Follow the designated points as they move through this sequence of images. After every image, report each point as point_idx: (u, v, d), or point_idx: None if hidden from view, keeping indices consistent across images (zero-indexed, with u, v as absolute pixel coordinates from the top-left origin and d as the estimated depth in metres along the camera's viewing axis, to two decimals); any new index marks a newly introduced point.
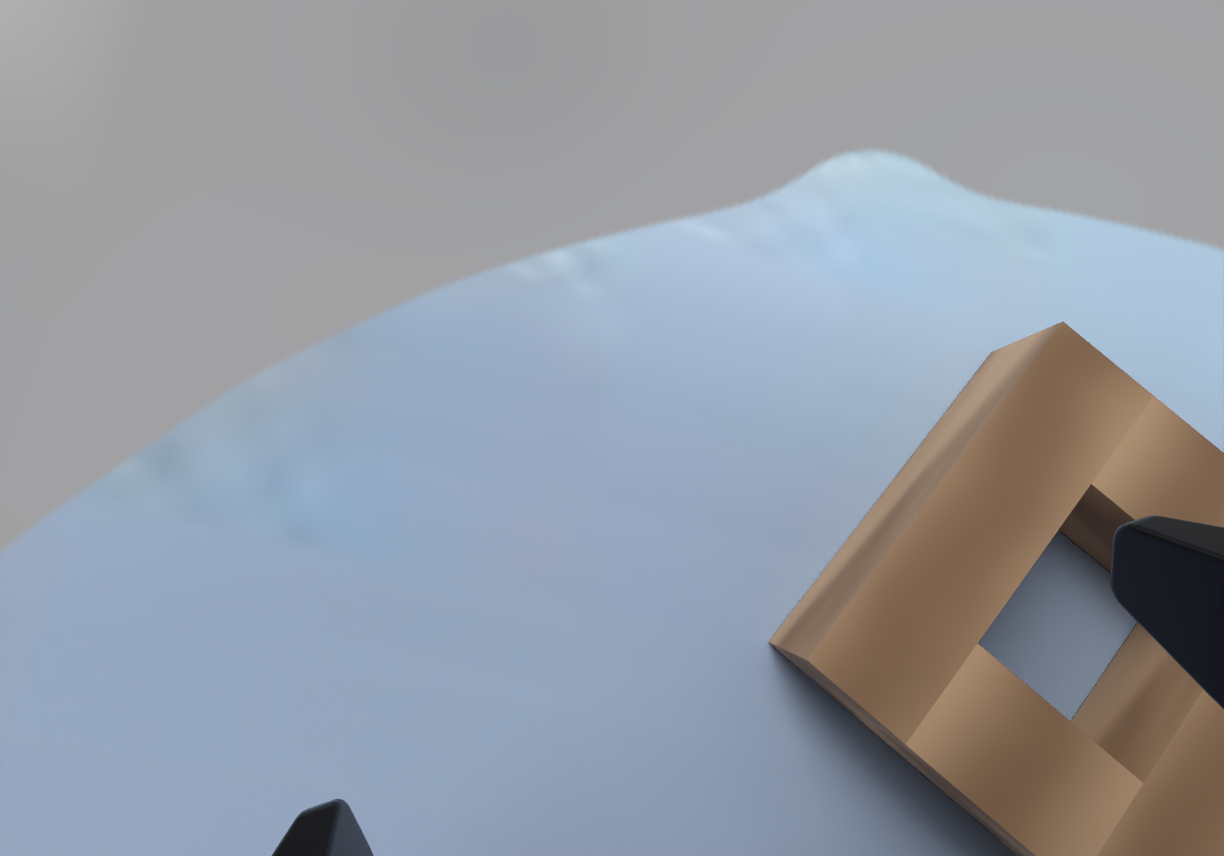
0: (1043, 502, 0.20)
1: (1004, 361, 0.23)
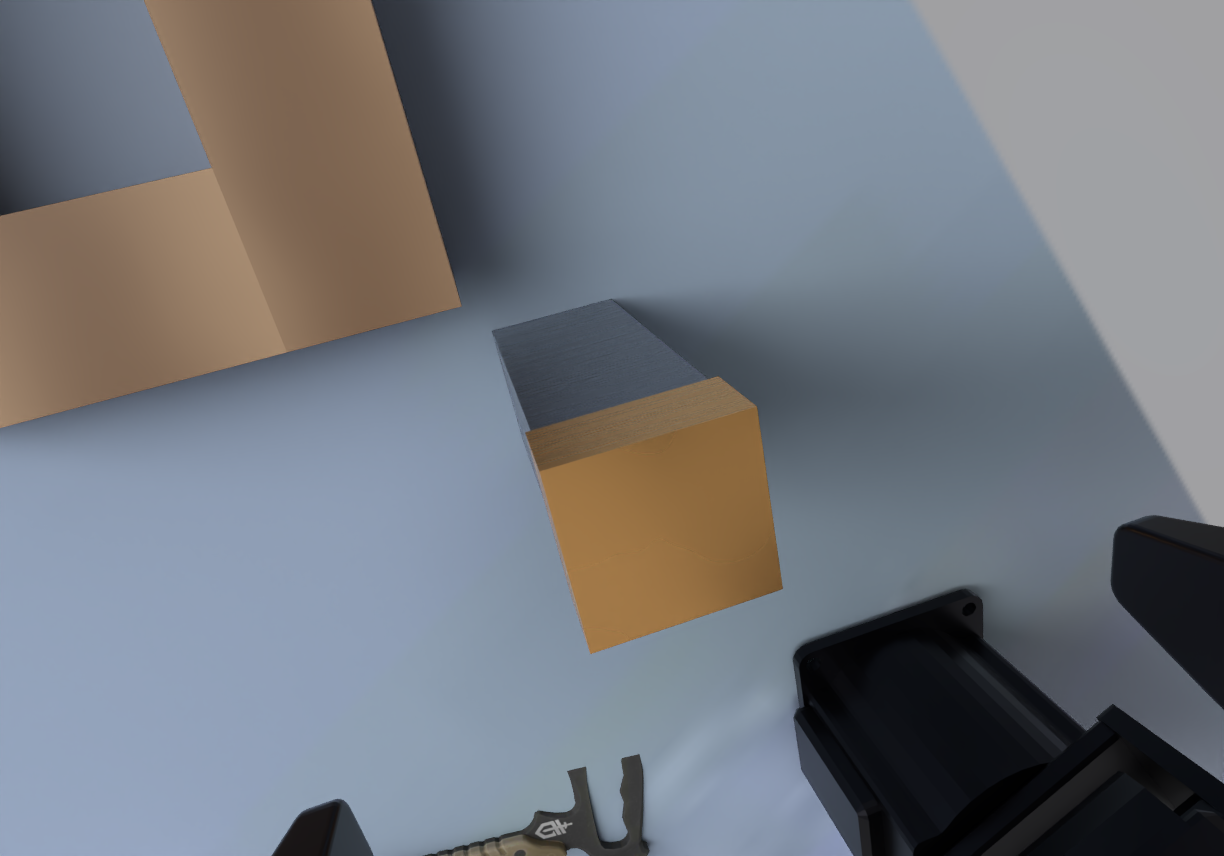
0: None
1: None
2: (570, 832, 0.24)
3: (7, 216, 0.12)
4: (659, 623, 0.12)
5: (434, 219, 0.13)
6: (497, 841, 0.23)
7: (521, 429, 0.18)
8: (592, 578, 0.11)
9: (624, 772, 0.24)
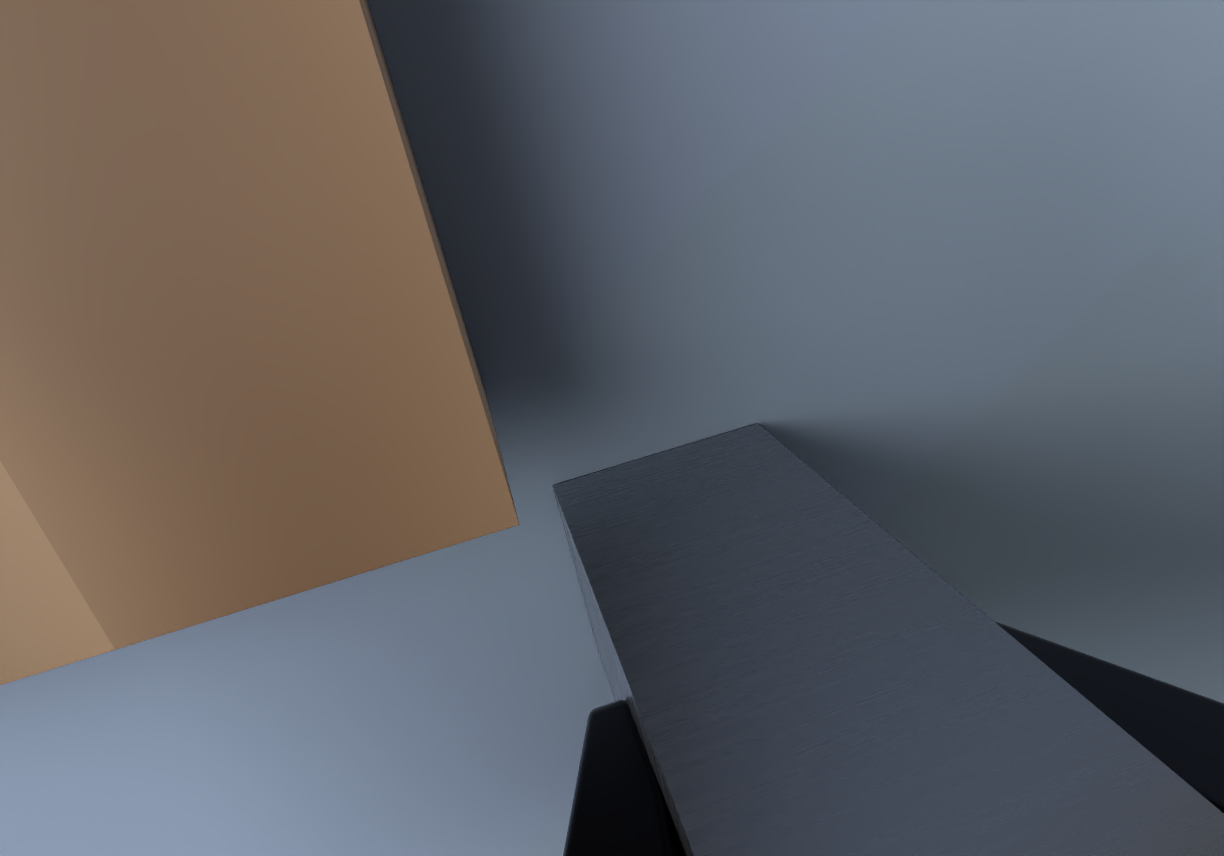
0: None
1: None
2: None
3: None
4: None
5: (460, 341, 0.06)
6: None
7: (607, 666, 0.10)
8: None
9: None
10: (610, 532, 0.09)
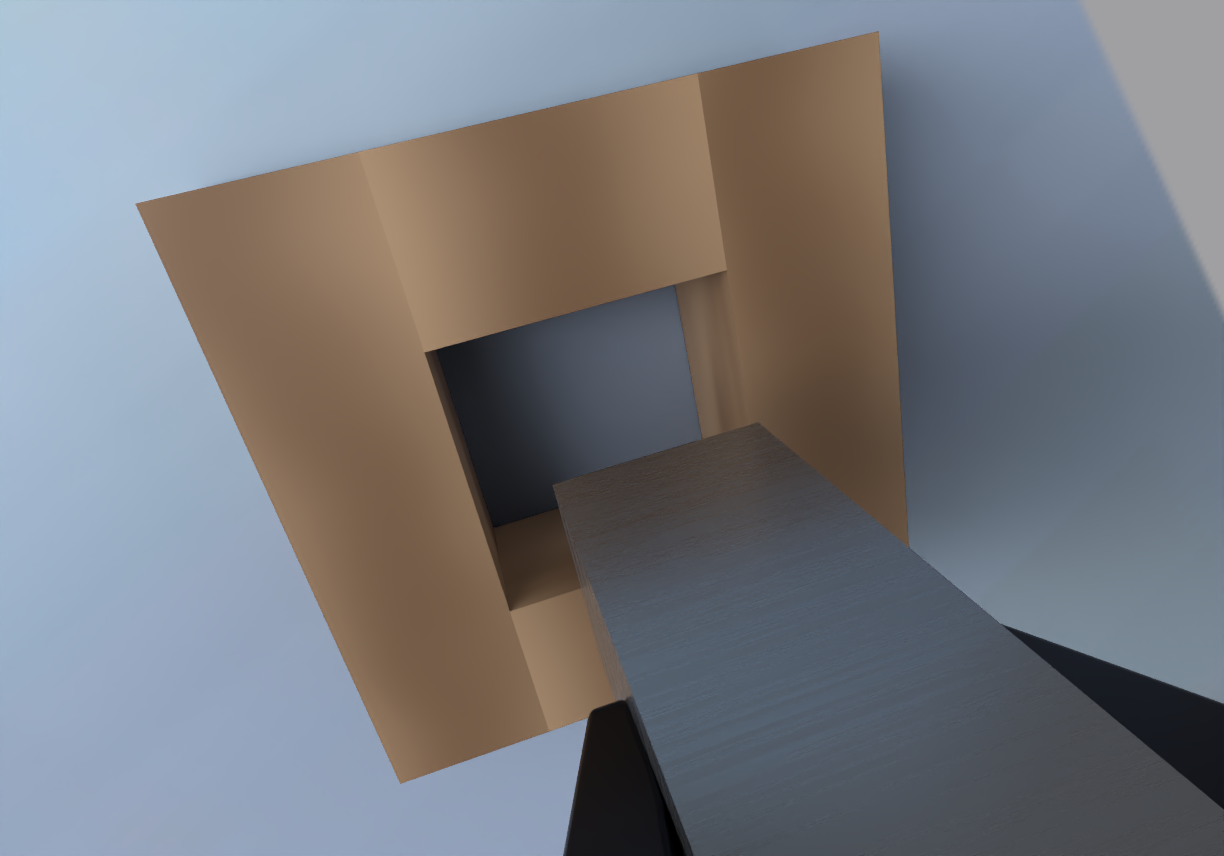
0: (405, 433, 0.13)
1: None
2: None
3: None
4: None
5: (906, 544, 0.17)
6: None
7: (607, 666, 0.10)
8: None
9: None
10: (610, 531, 0.09)
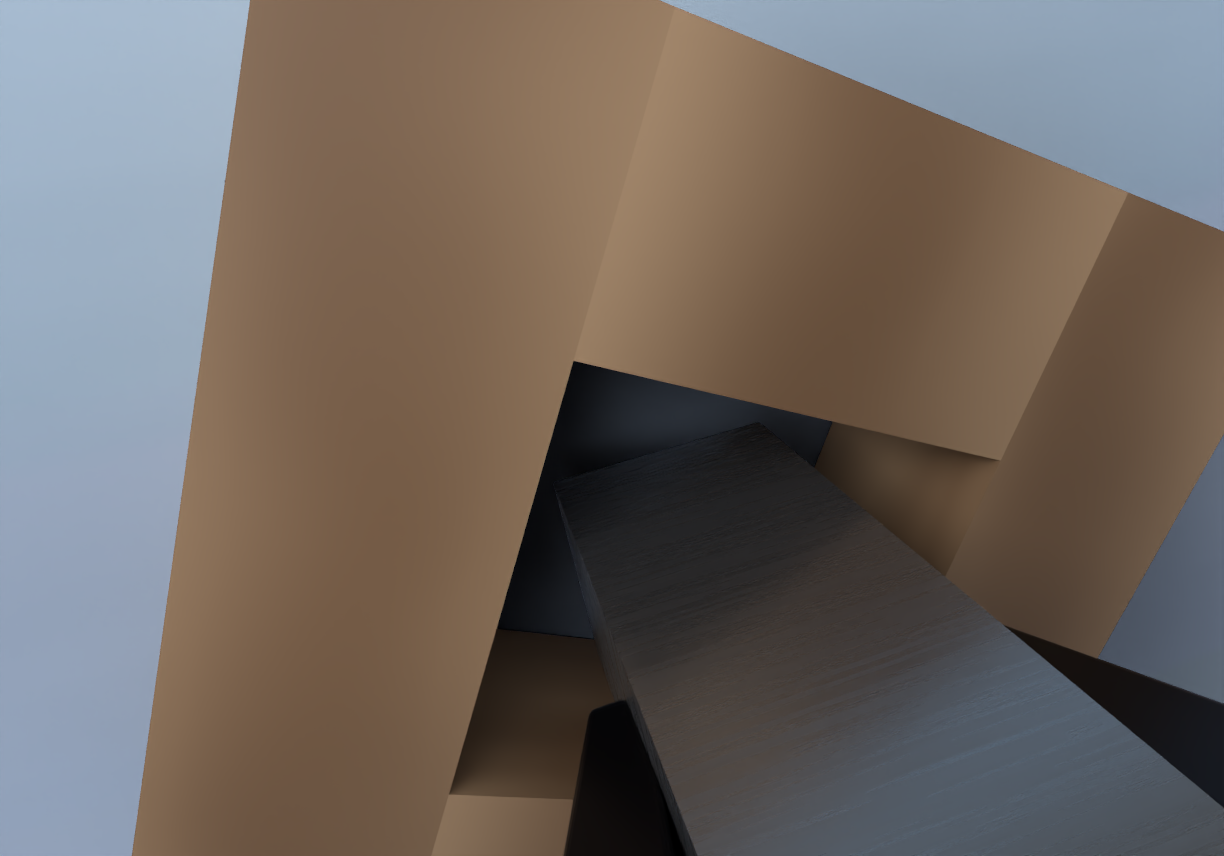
0: (468, 466, 0.07)
1: None
2: None
3: None
4: None
5: None
6: None
7: (606, 664, 0.10)
8: None
9: None
10: (611, 529, 0.09)
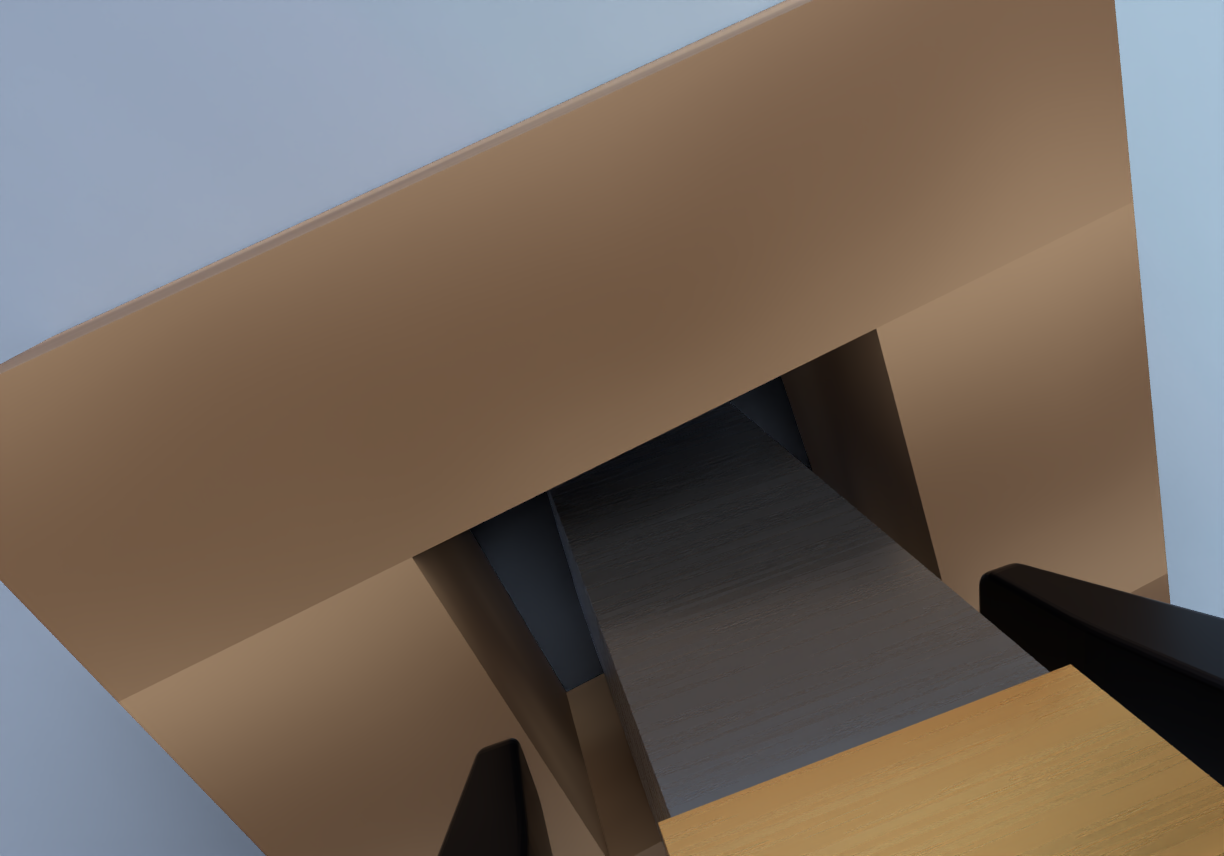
0: (748, 320, 0.08)
1: None
2: None
3: (507, 712, 0.09)
4: None
5: None
6: None
7: (582, 603, 0.11)
8: None
9: None
10: (580, 480, 0.10)
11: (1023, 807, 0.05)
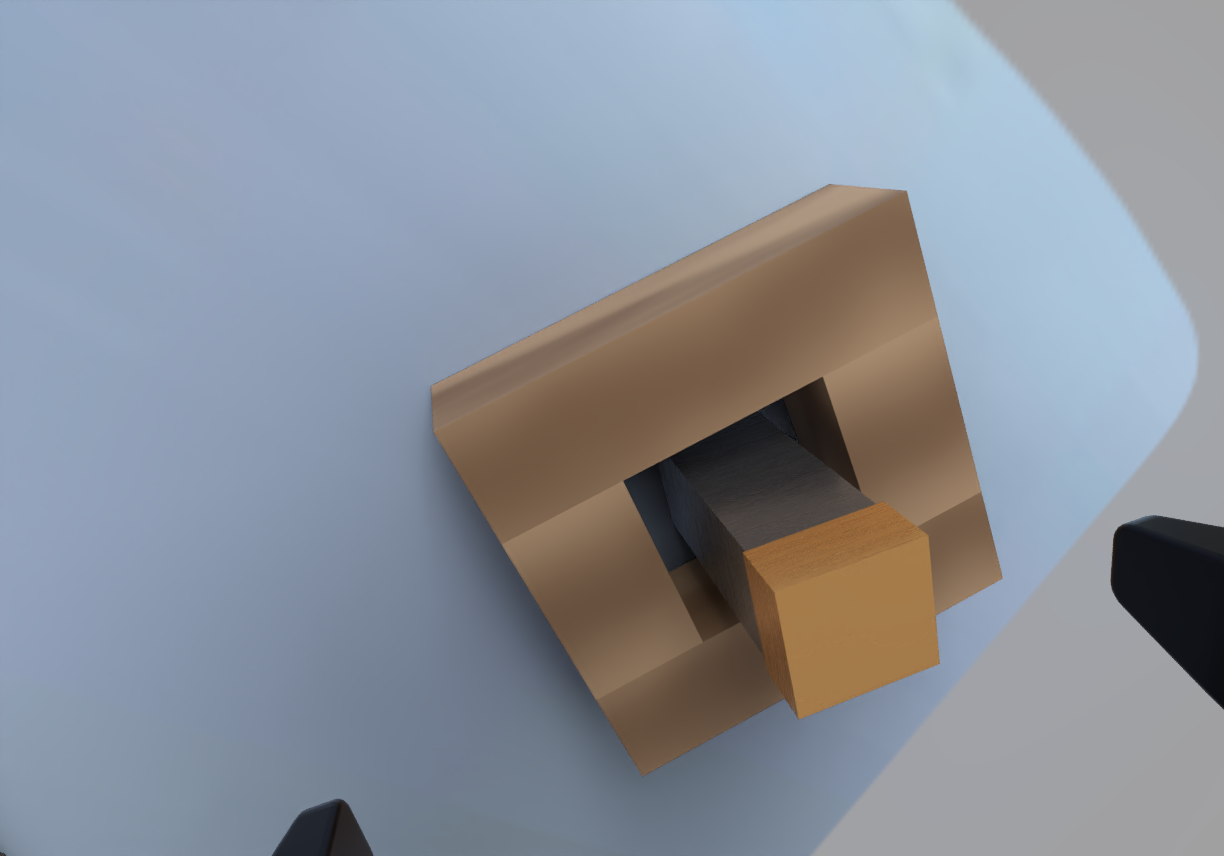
0: (766, 375, 0.18)
1: (829, 203, 0.19)
2: None
3: (658, 555, 0.19)
4: (849, 694, 0.15)
5: (691, 747, 0.21)
6: None
7: (679, 516, 0.21)
8: (804, 664, 0.15)
9: None
10: (682, 450, 0.20)
11: (858, 536, 0.15)
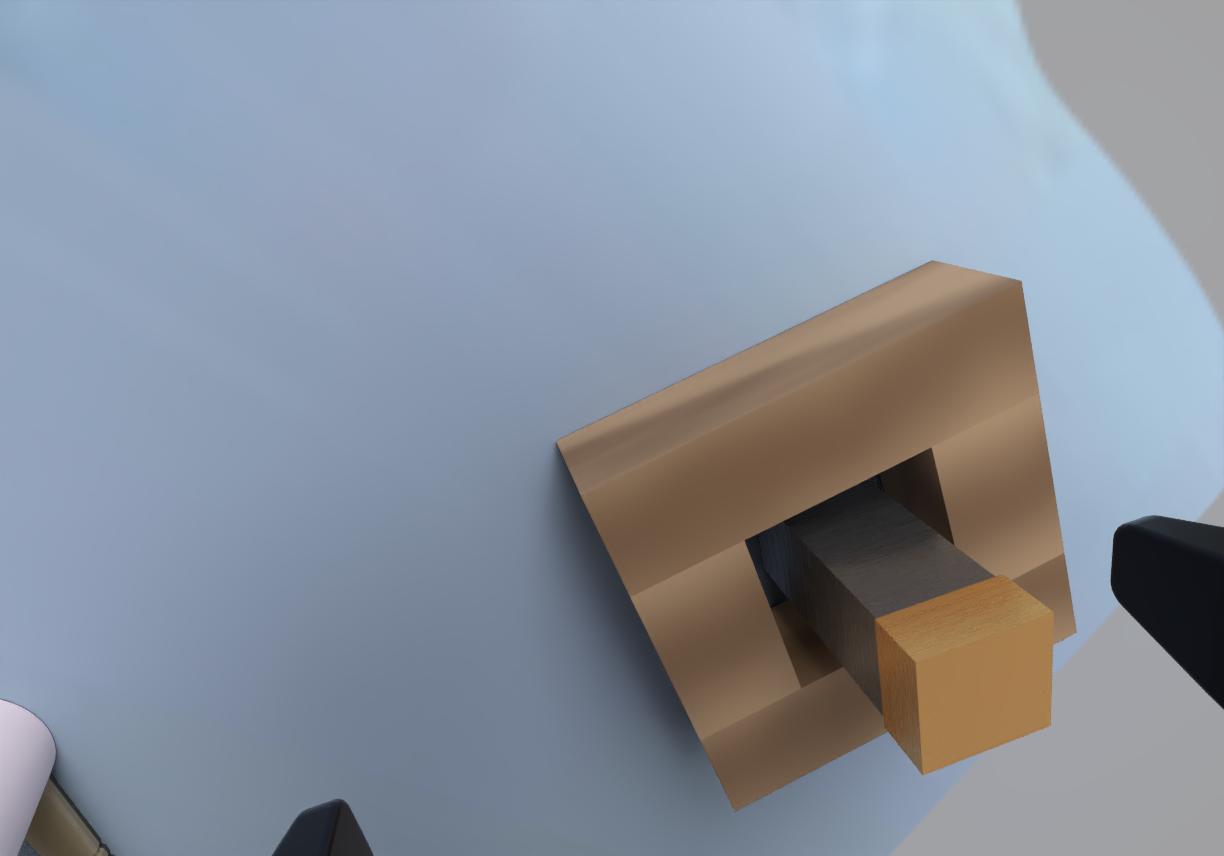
0: (881, 445, 0.19)
1: (939, 283, 0.20)
2: None
3: (769, 608, 0.20)
4: (969, 753, 0.16)
5: (781, 784, 0.23)
6: None
7: (777, 566, 0.23)
8: (933, 726, 0.16)
9: None
10: None
11: (985, 609, 0.16)
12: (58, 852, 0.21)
